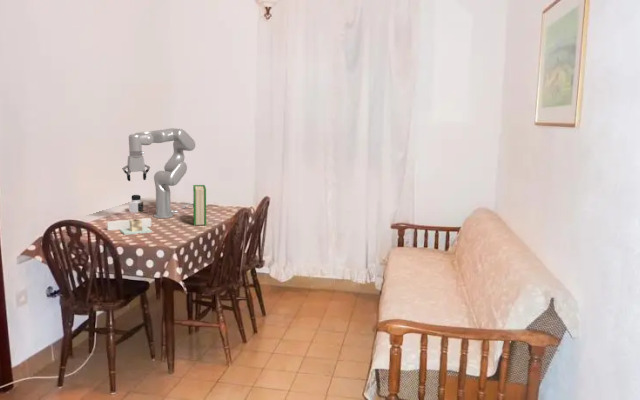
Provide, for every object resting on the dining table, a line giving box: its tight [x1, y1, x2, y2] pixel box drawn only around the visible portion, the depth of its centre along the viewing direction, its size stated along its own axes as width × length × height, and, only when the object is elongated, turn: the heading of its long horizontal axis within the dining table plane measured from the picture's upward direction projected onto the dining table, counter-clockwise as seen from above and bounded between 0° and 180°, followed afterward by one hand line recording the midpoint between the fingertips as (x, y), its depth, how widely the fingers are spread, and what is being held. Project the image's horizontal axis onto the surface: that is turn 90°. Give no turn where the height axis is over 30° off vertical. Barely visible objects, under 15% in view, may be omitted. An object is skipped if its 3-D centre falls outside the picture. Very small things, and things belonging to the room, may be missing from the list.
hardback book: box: [192, 184, 207, 226], centre depth 352 cm, size 18×7×24 cm, turn 15°
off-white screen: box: [106, 217, 152, 231], centre depth 333 cm, size 26×2×5 cm, turn 123°
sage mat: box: [119, 227, 153, 236], centre depth 325 cm, size 16×12×1 cm
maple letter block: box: [128, 218, 142, 231], centre depth 324 cm, size 6×6×6 cm
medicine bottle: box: [128, 194, 144, 214], centre depth 384 cm, size 7×7×12 cm
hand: (136, 180), depth 346 cm, fingers open, 9 cm apart
